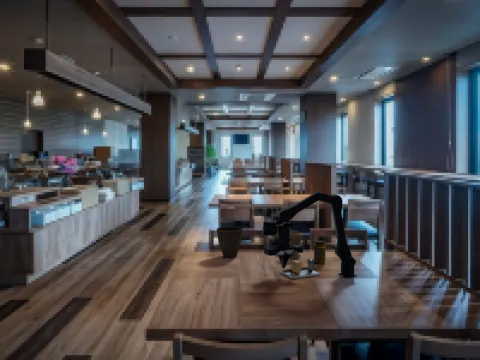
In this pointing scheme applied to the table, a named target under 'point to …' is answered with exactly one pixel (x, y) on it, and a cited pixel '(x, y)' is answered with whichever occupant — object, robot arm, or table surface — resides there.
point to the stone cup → (295, 242)
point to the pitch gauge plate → (304, 271)
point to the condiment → (319, 253)
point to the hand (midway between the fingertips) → (283, 267)
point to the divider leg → (296, 266)
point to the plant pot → (229, 240)
